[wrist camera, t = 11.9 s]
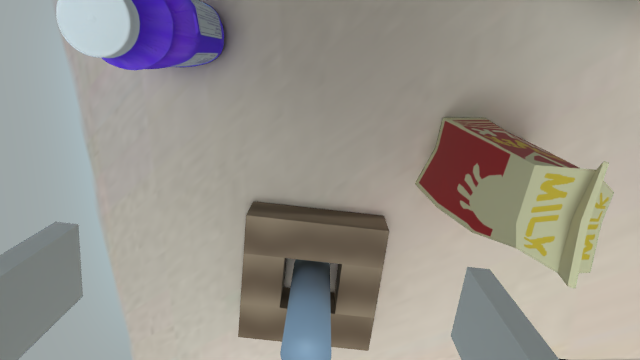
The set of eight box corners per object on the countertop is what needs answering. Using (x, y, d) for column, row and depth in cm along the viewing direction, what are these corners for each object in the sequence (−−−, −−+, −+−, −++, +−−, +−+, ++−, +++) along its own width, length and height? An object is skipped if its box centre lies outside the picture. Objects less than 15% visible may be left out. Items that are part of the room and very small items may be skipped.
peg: (295, 249, 45) (282, 330, 32) (331, 253, 45) (334, 335, 32) (292, 281, 46) (278, 372, 33) (327, 285, 46) (328, 377, 33)
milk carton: (493, 214, 44) (624, 336, 24) (412, 187, 43) (482, 291, 24) (533, 133, 41) (713, 200, 22) (448, 103, 40) (558, 145, 21)
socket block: (253, 201, 44) (246, 215, 40) (383, 216, 44) (389, 231, 40) (245, 314, 48) (238, 336, 44) (364, 327, 48) (368, 350, 44)
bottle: (224, -1, 38) (143, -47, 21) (233, 62, 40) (165, 66, 23) (147, 7, 38) (8, -33, 22) (159, 69, 40) (39, 78, 23)
